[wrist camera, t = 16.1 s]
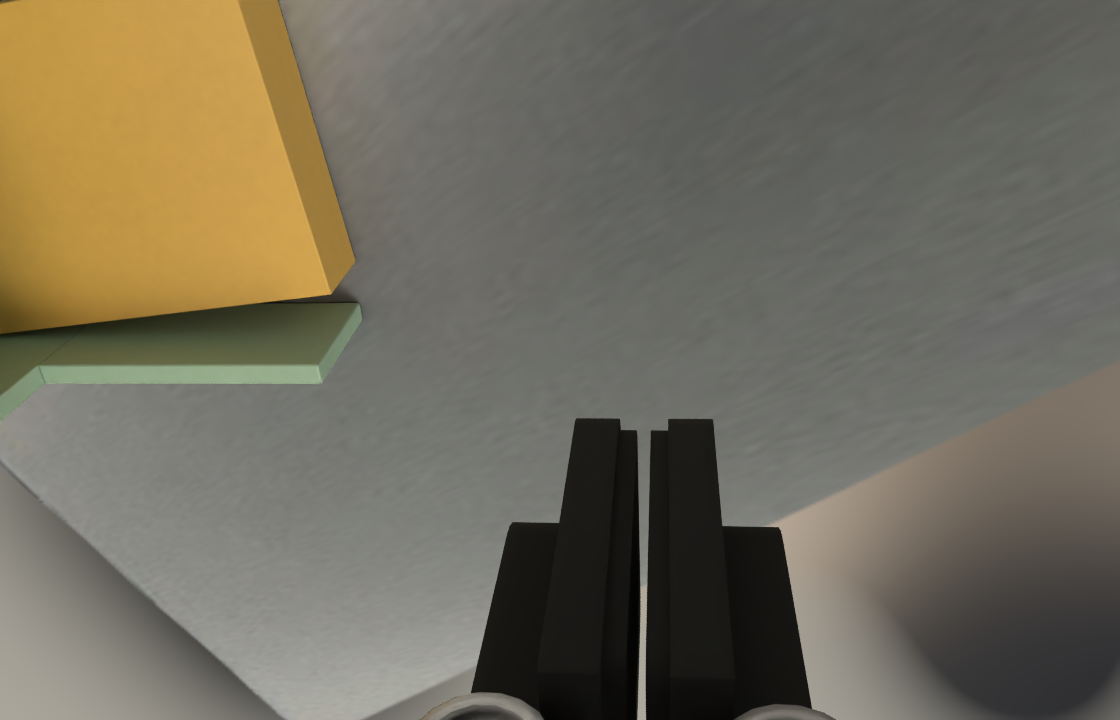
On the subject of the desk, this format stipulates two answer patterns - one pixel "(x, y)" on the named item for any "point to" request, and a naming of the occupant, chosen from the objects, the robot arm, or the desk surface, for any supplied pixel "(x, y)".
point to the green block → (181, 349)
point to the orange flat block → (157, 163)
